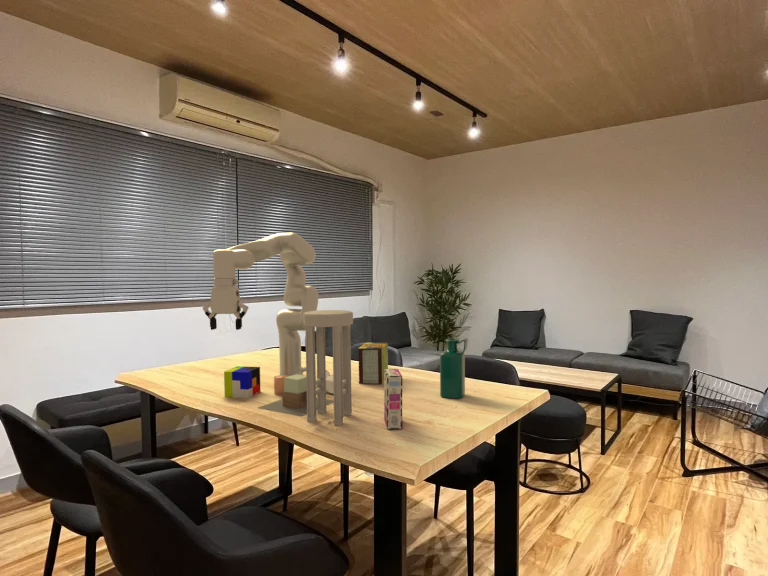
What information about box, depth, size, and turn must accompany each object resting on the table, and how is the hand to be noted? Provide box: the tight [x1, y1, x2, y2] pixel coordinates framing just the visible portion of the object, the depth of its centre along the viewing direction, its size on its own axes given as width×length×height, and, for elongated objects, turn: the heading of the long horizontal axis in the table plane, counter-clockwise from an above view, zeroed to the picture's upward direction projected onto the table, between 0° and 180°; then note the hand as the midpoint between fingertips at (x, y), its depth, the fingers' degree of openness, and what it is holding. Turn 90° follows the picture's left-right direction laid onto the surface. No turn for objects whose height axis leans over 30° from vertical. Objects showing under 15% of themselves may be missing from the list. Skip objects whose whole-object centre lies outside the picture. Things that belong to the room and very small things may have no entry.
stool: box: [304, 309, 354, 426], centre depth 150 cm, size 16×16×35 cm
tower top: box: [284, 374, 307, 394], centre depth 165 cm, size 6×6×5 cm
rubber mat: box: [257, 397, 334, 417], centre depth 166 cm, size 20×20×1 cm
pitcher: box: [439, 337, 469, 400], centre depth 175 cm, size 10×8×22 cm
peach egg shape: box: [273, 374, 289, 396], centre depth 181 cm, size 6×6×7 cm
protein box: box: [357, 342, 389, 385], centre depth 203 cm, size 10×15×16 cm
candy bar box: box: [383, 368, 403, 430], centre depth 144 cm, size 11×5×16 cm, turn 5°
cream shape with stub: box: [326, 369, 334, 394], centre depth 183 cm, size 8×8×15 cm
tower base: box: [281, 391, 307, 409], centre depth 166 cm, size 8×8×5 cm
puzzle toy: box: [223, 365, 261, 399], centre depth 182 cm, size 10×10×10 cm
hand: (226, 329), depth 170 cm, fingers open, 9 cm apart
